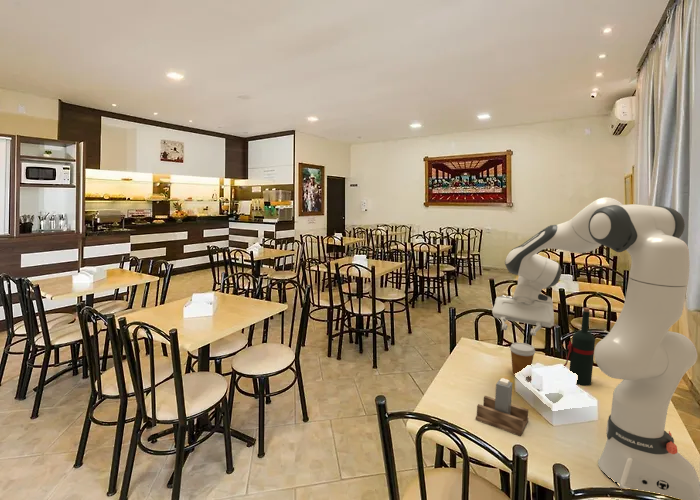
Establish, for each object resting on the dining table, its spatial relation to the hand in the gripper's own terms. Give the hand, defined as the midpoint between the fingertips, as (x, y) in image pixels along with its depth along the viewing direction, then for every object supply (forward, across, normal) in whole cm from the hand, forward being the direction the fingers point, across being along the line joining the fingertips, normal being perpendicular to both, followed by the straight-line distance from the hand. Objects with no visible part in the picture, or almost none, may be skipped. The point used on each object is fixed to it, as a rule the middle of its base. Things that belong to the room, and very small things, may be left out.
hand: (518, 331), depth 130 cm
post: (+28, 0, +8) cm, 29 cm away
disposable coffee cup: (+2, -3, +35) cm, 35 cm away
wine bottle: (-4, +16, +41) cm, 44 cm away
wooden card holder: (+29, 0, +8) cm, 30 cm away
